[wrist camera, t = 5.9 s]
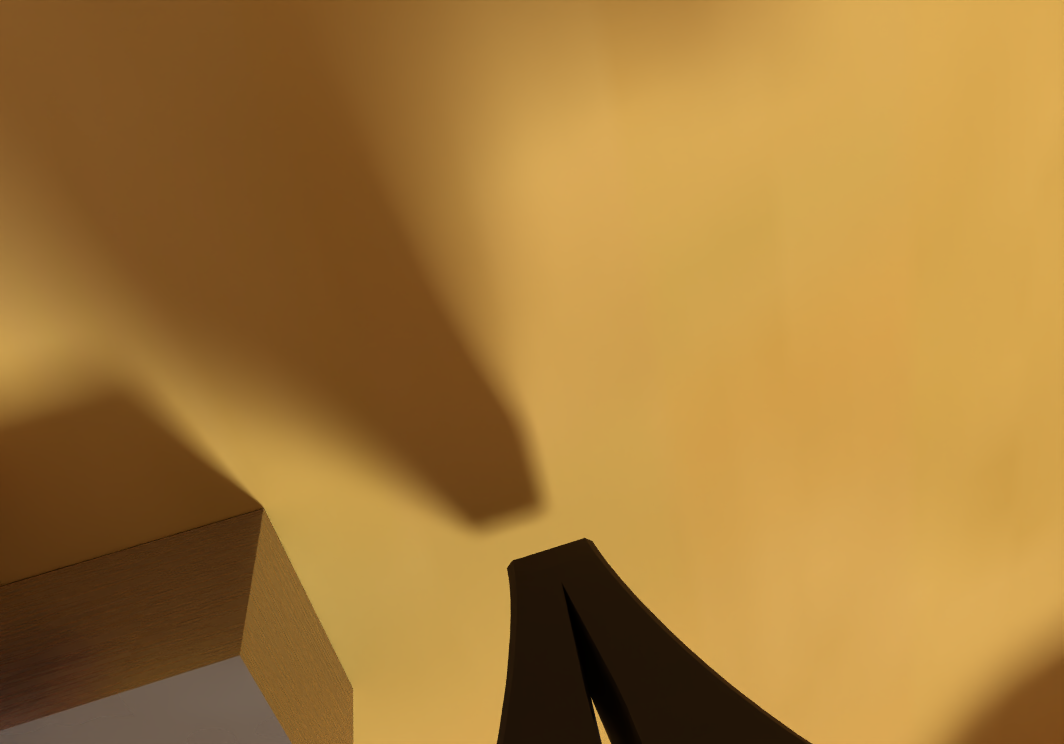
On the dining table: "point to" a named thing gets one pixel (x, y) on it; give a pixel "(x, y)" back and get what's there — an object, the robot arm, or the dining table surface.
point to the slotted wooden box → (172, 648)
